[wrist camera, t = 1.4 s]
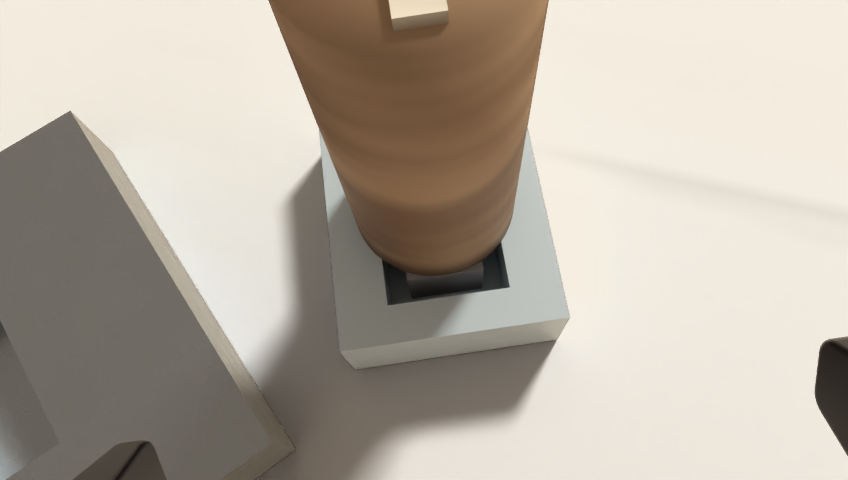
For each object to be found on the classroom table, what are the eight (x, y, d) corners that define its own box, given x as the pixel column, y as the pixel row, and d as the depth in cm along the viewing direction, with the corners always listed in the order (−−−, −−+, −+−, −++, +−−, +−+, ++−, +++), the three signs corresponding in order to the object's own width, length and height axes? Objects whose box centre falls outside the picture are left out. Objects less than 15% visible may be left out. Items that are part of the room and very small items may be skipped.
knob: (523, 281, 23) (592, 20, 10) (370, 304, 23) (257, 71, 10) (496, 148, 25) (527, -209, 12) (355, 169, 25) (244, -167, 12)
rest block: (557, 339, 23) (570, 317, 20) (354, 369, 23) (339, 351, 20) (509, 114, 26) (514, 68, 23) (332, 141, 26) (316, 98, 23)
